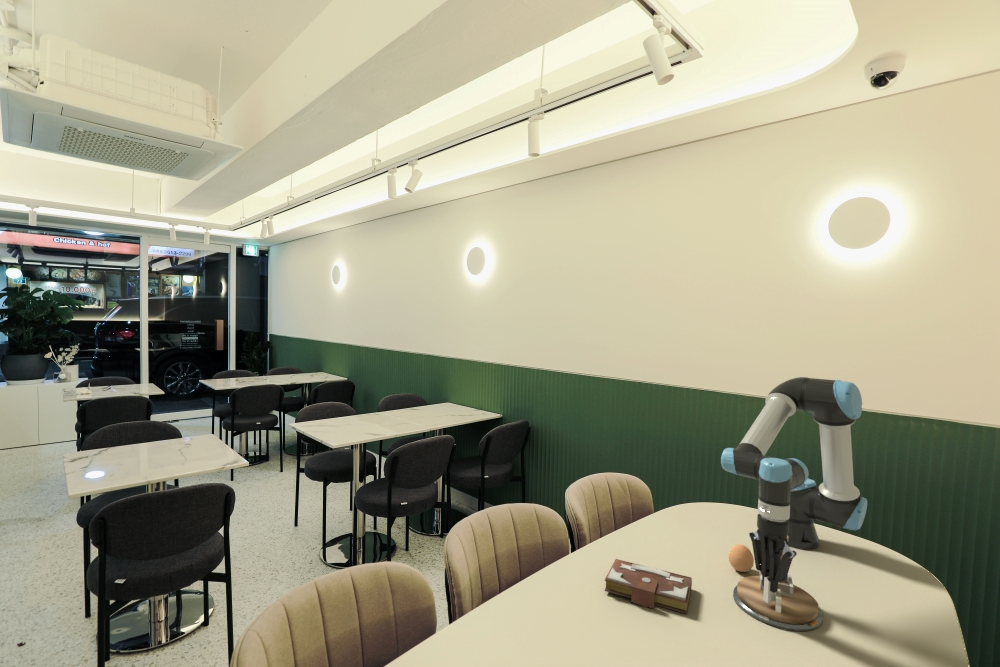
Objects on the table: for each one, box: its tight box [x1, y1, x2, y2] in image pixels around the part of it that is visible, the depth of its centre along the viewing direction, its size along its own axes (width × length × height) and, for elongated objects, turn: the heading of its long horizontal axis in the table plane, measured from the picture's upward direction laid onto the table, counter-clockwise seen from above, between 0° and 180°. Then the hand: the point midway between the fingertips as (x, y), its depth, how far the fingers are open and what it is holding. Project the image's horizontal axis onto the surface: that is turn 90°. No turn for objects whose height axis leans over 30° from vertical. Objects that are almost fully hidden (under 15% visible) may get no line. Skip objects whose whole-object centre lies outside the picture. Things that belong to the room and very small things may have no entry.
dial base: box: [732, 585, 824, 633], centre depth 135 cm, size 22×22×2 cm
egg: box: [728, 543, 755, 573], centre depth 154 cm, size 7×7×8 cm
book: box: [604, 558, 693, 615], centre depth 141 cm, size 23×16×5 cm
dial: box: [736, 571, 820, 624], centre depth 135 cm, size 20×20×6 cm
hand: (769, 600), depth 130 cm, fingers closed
